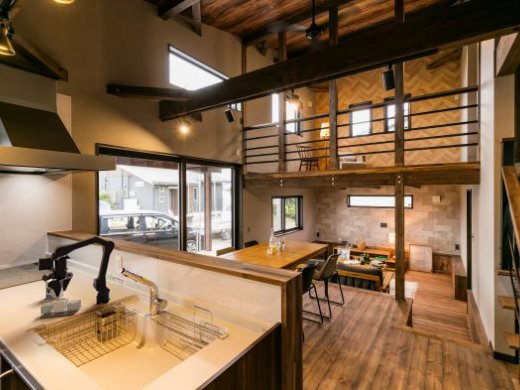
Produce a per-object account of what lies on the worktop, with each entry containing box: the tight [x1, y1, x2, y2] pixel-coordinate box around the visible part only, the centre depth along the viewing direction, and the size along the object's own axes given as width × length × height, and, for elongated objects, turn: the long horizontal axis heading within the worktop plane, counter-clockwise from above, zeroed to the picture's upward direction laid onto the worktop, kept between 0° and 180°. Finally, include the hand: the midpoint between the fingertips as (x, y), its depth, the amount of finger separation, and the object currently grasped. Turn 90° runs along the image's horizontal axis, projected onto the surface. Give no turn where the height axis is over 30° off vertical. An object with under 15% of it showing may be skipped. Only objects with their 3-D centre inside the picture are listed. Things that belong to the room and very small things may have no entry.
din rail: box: [40, 298, 82, 320], centre depth 159 cm, size 18×12×6 cm, turn 106°
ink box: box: [45, 279, 64, 300], centre depth 182 cm, size 8×5×12 cm, turn 105°
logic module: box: [53, 296, 69, 312], centre depth 159 cm, size 5×6×6 cm
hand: (61, 293), depth 159 cm, fingers open, 9 cm apart
